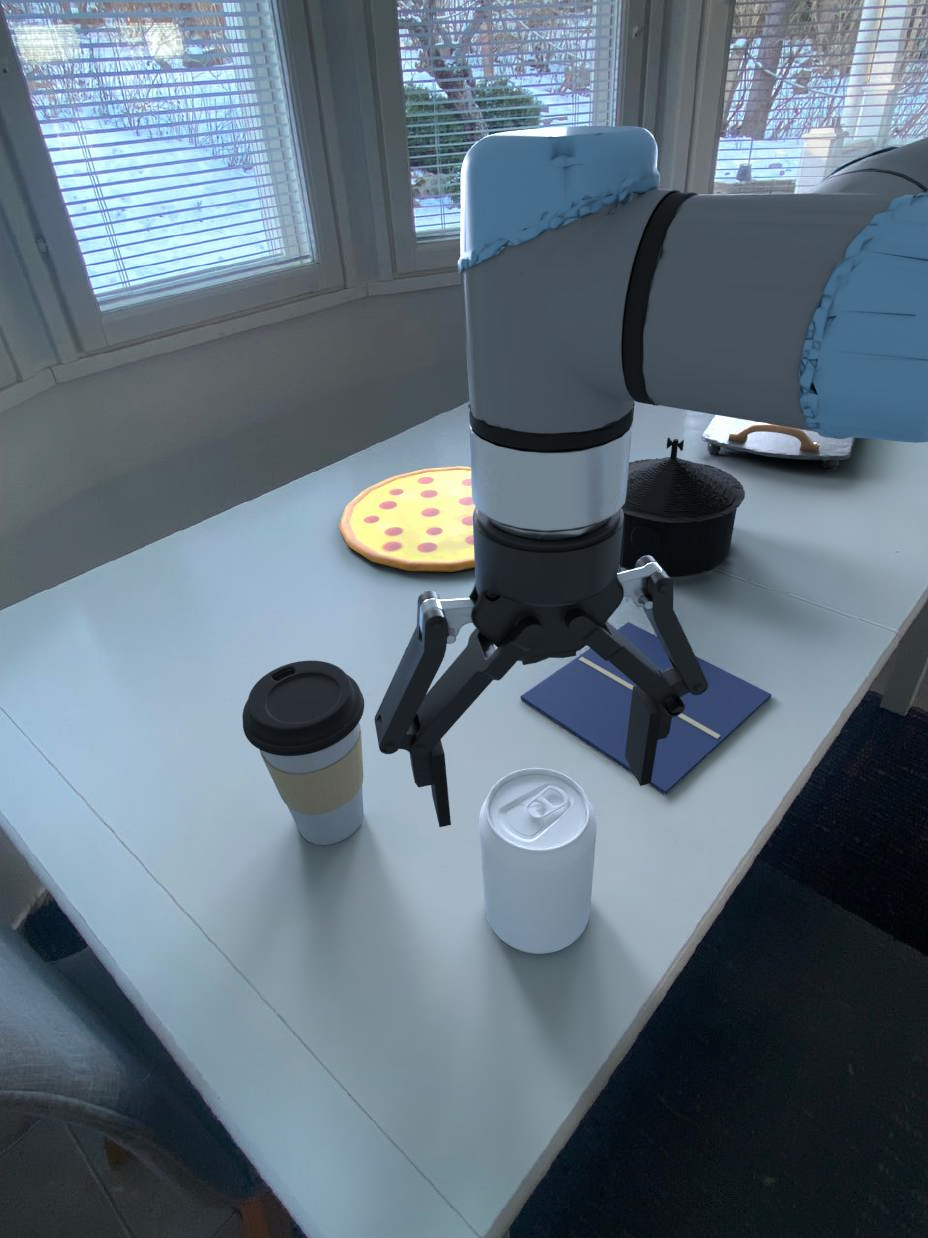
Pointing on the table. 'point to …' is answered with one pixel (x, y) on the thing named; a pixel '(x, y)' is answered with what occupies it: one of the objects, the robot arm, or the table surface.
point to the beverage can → (537, 859)
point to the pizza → (415, 521)
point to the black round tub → (678, 514)
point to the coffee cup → (311, 745)
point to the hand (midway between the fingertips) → (541, 790)
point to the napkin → (601, 700)
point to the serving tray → (775, 441)
